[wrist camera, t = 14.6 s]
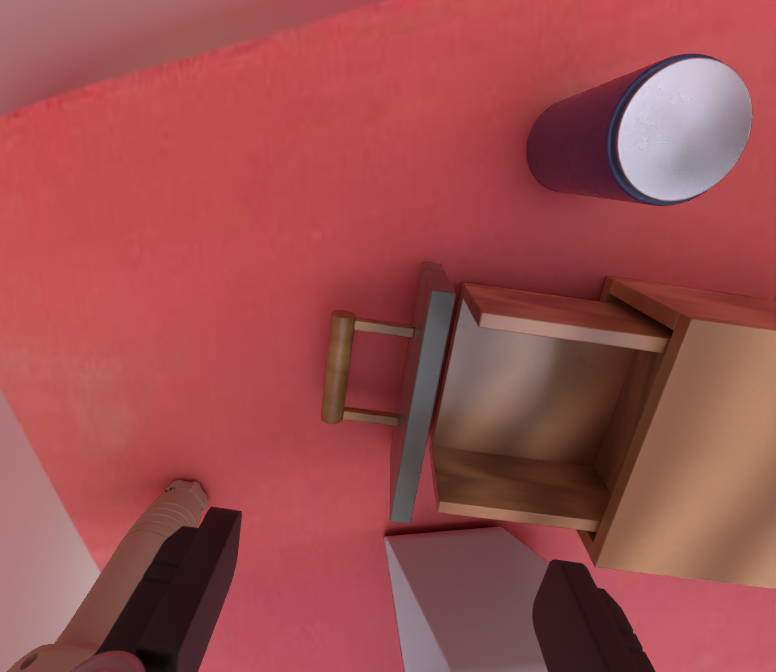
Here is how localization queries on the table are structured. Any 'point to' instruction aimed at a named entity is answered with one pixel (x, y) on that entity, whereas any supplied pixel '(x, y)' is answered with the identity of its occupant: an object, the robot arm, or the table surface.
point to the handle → (118, 580)
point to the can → (646, 133)
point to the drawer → (509, 400)
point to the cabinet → (699, 444)
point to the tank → (465, 600)
